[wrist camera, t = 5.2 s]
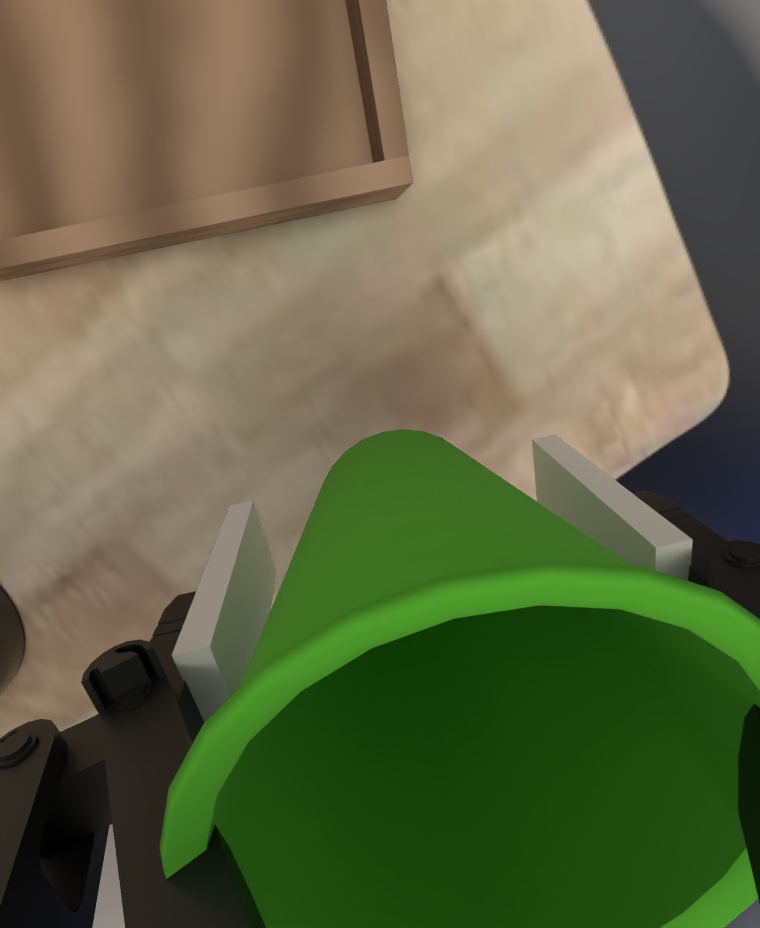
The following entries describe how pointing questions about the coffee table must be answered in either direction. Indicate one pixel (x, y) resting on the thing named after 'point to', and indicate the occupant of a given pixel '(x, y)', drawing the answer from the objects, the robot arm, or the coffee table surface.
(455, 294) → the coffee table surface
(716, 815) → the cup
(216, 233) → the tray
